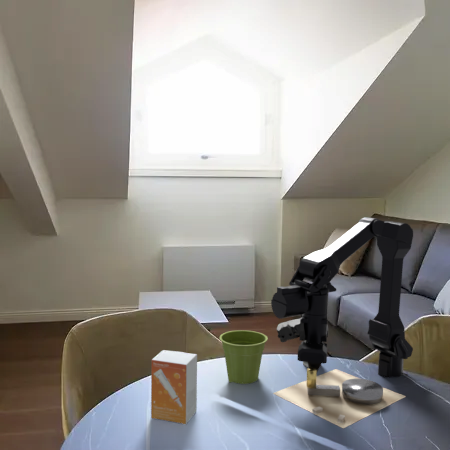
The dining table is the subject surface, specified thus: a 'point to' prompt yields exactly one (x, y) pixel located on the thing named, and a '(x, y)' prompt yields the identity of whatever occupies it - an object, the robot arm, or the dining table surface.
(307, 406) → the stand board
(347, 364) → the dining table surface
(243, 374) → the plant pot
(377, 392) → the lever
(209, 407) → the dining table surface
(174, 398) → the small box
